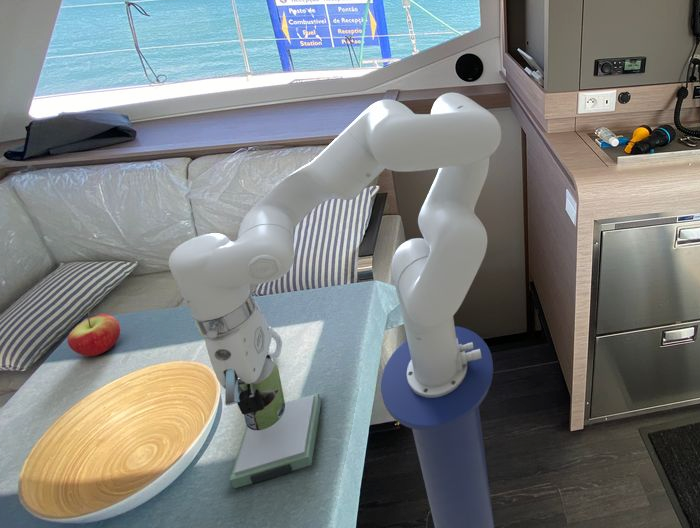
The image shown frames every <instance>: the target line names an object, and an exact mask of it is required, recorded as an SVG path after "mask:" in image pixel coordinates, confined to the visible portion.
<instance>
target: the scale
mask: <svg viewBox="0 0 700 528" xmlns="http://www.w3.org/2000/svg"><path fill="white" fill-rule="evenodd" d="M284 402H285V410H284V413H283V415H282V416H281V418H280V419H279V420H278V421H277V422H276V423H275V424H274V425H272V426H270V427H269V428H266V429H263V430H252V429H250V428H248V426H247V425H246V427H245V430H244V434H243V437H242V439H241V443H240V446H239V450H238V452H237V456H236V459H235V462H234V465H233V468H232V470H231V471H232V472H231V475H230V478H229V481H230V483H231V486H232V487H233V489H238V488H241V487H245V486H248V485H251V484H256V483H260V482H263V481H266V480H270V479H273V478H276V477H279V476H282V475H286V474H288V473H292V472H293V471H297V470H300V469H304V468H307V467H309V466H310V467H311V466H312V463H313V456H314V451H315V445H316V438H317V433H318V425H319V419H320V412H321V407H322V399H321V396H320V394H319V393H314V394H311V395H306V396H303V397H300V398H296V399H292V400H288V401H284Z"/></svg>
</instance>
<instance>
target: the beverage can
mask: <svg viewBox="0 0 700 528" xmlns="http://www.w3.org/2000/svg"><path fill="white" fill-rule="evenodd" d="M281 380H282V379H281V375H280V369H279V366H278V364H277V362H275V361H274V360H273V361H272V360H271V359H269V358H266V359H265V362H264V365H263V368H262V371H261V374H260V376H259V378H258V379H257V380H256V381H255V382H254V386H255V390H259V393H260V395H261V397H262V400H263V402H264V404H265V406H264V409H263V410H260V411H256V412H253V413H249V414H245V415H244V414H243V418H244V422H245V425H246V427H247V426H248V428H250V429H252V430H263V429H266V428H269V427H270V426H272V425H274V424H275V423H276V422H277V421H278V420H279V419H280V418H281V416H282V415H283V413H284V410H285V402H286V401H285V397H284V392H283V386H282V381H281ZM238 387H239V392H241V391H245V390H248V388H247V383H245V384H241V385H238Z"/></svg>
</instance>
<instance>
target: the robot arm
mask: <svg viewBox="0 0 700 528" xmlns="http://www.w3.org/2000/svg"><path fill="white" fill-rule="evenodd" d="M501 141H502V128H501V124H500V122H499V120H498V119H497V118H496V117H495V115H494V114H493V113H491V112H490V111H489V110H488V109H486V108H485V107H483V106H481V105H480V104H479V103H477V102H476V101H474V100H473V99H471V98H470V97H468V96H466V95H464V94H461V93H460V92H459V93H458V92H446V93H444V94H443V93H442V94H441V95H440V96H438V98H437V99H436V100H435V101H434V102H433V105H432V108H431V111H430V113H423V114H422V113H421V114H420V113H414V112H413V111H412V109H411V108H409V107H408V106H407V105H405V104H403V103H402V102H400V101H398V100H396V99H395V100H394V99H389V98H387V99H385V98H384V99H381V100H378V101H376V102H374V103H372V104H370V106H369V107H367V108H366V109H365V110H364V111H363V112H361V114H360V115H359V116H357V118H356V119H354V121H352V123H350V124H349V125H348V126H347V127H346V128H345V129H344V130H343V131H342V132H341V133H340V134H339V135H338V136H337V137H336V138H335V139H334V140H333V141H332V142H331V143H329V145H328V146H327V147H325V149H324V150H323V151H321V152H320V153H319V154H318V155H317V156H316V157H315V158H313V160H311V162H309V163H307V164H305V165H303V166H301V167H300V168H298V169H297V170H295V171H293V172H292V173H290V174H289V175H287V176H285V177H284V178H282V179H281V180H280V181H279V182H278V183H276V184H275V185H274V186H273V187H272V188H271V189H269V190H268V192H266V194H264V195H263V196H262V197H261V198H260V200H258V201H257V202H256V203H255V204H254V205H253V207H251V208H250V210H249V211H248V212H247V213H246V215H244V218H243V219H242V221H241V223H240V226H239V230H238V235H237V239H236V240H234V241H231V239H230V238H229V237H228V236H226V235H224V234H222V233H207V234H206V233H205V234H202V235H198V236H195V237H193V238H190V239H188V240H186V241H184V242H182V243H180V244H179V245H178V246H176V248H175V249H173V251H172V252H171V253H170V255H169V257H168V267H169V270H170V272H171V274H172V276H173V279H174V281H175V283H176V285H177V287H178V290H179V291H180V293H181V296H182V298H183V300H184V302H185V304H186V307H187V309H188V311H189V313H190V315H191V317H192V319H193V322H194V323H195V326H196V329H197V330H198V332H199V334H200V335H201V336H202V337H204V342H205V346H206V350H207V355H208V357H209V361H210V363H211V366H212V369H213V371H214V372H213V373H214V374H215V376H216V378H217V381H218V383H219V384H220V386H221V387H222V388H223V389H224V390H225V394H224V399H225V401H224V403H225V406H226V407H227V406H231V405H235V404H237V407H238V408H239V411H240V413H241V414H242V415H243V416H244V415H245V414H249V413H253V412H256V411H260V410H263V409H264V406H265V404H264V402H263V400H262V397H261V395H260V393H259V390H255V386H254V382H255V381H256V380H257V379H258V378H259V376H260V374H261V371H262V368H263V365H264V362H265V359H266V358H269V359H271V358H270V355H267V354H268V352H269V349H270V346H271V342H272V339H273V338H272V335H271V332H270V329H269V327H270V326H269V324H268V322H267V320H266V318H265V316H264V314H263V312H262V310H261V307H260V306H259V305H258V303H257V302H256V300H255V299H254V296H253V294H252V292H251V291H252V290H251V288H250V286H254V285H256V286H257V285H263V284H268V283H271V282H274V281H277V280H280V279H281V278H283V277H284V276H286V275H287V274H288V272H289V271H291V268H292V266H293V264H294V259H295V247H294V229H296V227H297V226H298V225H299V224H300V223H301V222H302V221H303V220H304V219H305V218H306V217H307V216H308V215H309V214H310V213H311V212H313V210H315V209H316V208H317V207H319V206H320V205H321V204H323V203H325V202H327V201H330V200H342V201H351V200H354V199H356V198H357V197H358V196H359V195H360V194H361V193H362V192H363V191H364V190H365V189H366V188H367V187H368V186H369V185H370V184H371V183H372V182H373V181H374V180H375V179H376V178H377V177H378V176H379V175H380V174H381V173H382V172H383V171H384V170H385V169H387V170H388V171H392V172H403V173H407V172H410V173H411V172H421V171H422V172H423V171H429V170H437V169H438V171H437V173H436V176H435V178H434V180H433V182H432V185H431V187H430V189H429V191H428V193H427V195H426V198H425V200H424V202H423V204H422V206H421V208H420V211H419V214H418V217H417V224H418V228H419V231H420V233H421V235H422V237H423V238H421V237H416V238H410V239H408V240H406V241H405V242H403V243H401V244H400V246H398V247H397V249H396V250H395V252H394V254H393V256H392V260H391V265H390V266H391V268H390V270H391V276H392V280H393V284H394V287H395V291H396V292H395V293H396V295H397V299H398V302H399V303H398V304H399V307H400V313H401V315H402V321H403V326H404V331H405V335H406V340H407V341H408V345H409V350H410V355H411V361H410V362H409V365H408V368H407V380H408V384H409V386H410V388H411V389H412V390H413V391H414V392H415V393H416V394H418V395H420V396H422V397H427V398H436V397H441V396H444V395H446V394H448V393H450V392H452V391H453V390H454V389H456V388H457V387H458V386H459V385H460V384H461V382H462V381H463V379H464V378H465V375H466V372H467V362H469V361H472V360H473V361H474V360H478V359H482V357H481V351H480V349H477V350H473V351H471V352H467V353H465V351H466V350H471V349H474V348H473V343H472V342H471V343H467V344H465V345H462V344H458V339H457V338H456V333H455V326H456V325H455V319H454V316H455V314H456V313H457V312H458V310H459V308H460V307H461V305H462V304H463V302H464V300H465V298H466V296H467V294H468V292H469V291H470V288H471V286H472V284H473V282H474V279H475V277H476V276H477V274H478V271H479V269H480V267H481V265H482V263H483V260H484V259H485V256H486V253H487V249H488V234H487V231H486V227H485V225H484V224H483V222H482V221H481V219H480V218H479V217H478V216H477V215H476V213H475V208H476V205H477V202H478V199H479V197H480V195H481V192H482V190H483V188H484V185H485V183H486V180H487V177H488V173H489V167H490V156H492V155H493V154H494V153H495V152H496V151H497V149H498V147H499V146H500V143H501ZM245 383H247V388H248V390H245V391H241V392H239V387H238V385H241V384H245Z"/></svg>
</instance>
